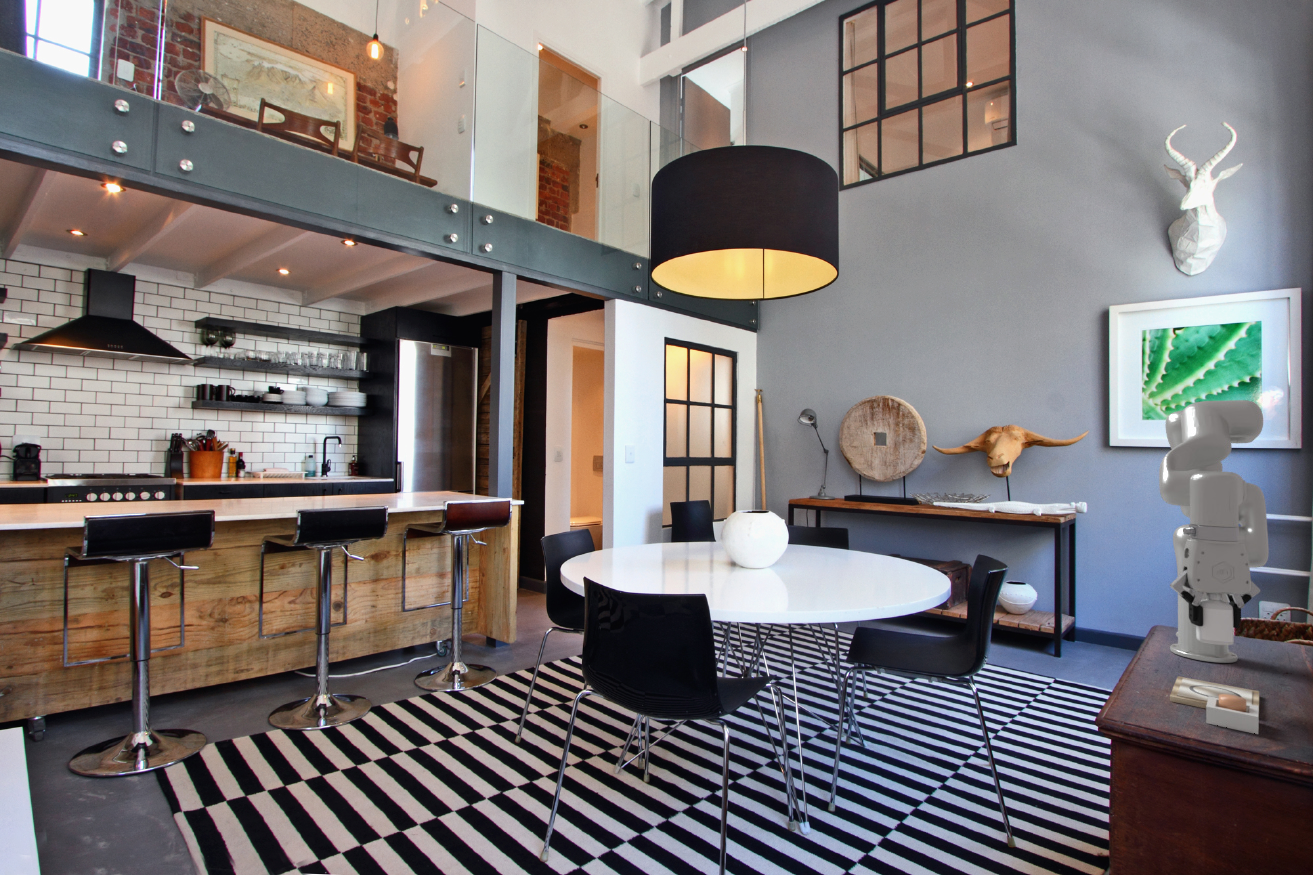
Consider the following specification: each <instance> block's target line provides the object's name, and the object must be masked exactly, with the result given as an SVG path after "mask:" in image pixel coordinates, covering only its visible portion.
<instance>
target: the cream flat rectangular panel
mask: <svg viewBox="0 0 1313 875" xmlns="http://www.w3.org/2000/svg"><path fill="white" fill-rule="evenodd" d="M1219 694H1229V695H1235V696H1239V697H1242V698H1244V699H1246V704H1251V705H1256V706H1259V707H1260V691H1259V690H1254V689H1249V688H1245V687H1244V688H1243V687H1239V686H1232V685H1227V684H1221V683H1216V682H1210V681H1206V680H1200V679H1195V678H1194V679H1193V678H1189V677H1183V676H1177V677H1176V680H1175V681H1174V685H1173V687H1172V690H1171V692H1170V695H1169V702H1172V703H1177V704H1181V705H1187V706H1193V707H1196V708H1201V709H1206V705H1207V701H1208V697H1209V696H1210V697H1215V698H1219Z"/></svg>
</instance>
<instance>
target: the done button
mask: <svg viewBox="0 0 1313 875" xmlns="http://www.w3.org/2000/svg"><path fill="white" fill-rule="evenodd" d="M1219 707H1221V708H1226V709H1231V710H1236V711H1241V712H1246V699H1244V698H1242V697H1239V696H1235V695H1229V694H1219Z"/></svg>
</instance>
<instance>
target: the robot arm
mask: <svg viewBox="0 0 1313 875" xmlns="http://www.w3.org/2000/svg"><path fill="white" fill-rule="evenodd" d="M1164 427H1165V434H1166V438H1167V442H1168V445H1169V446H1170V449H1171V450H1169V451H1168V452H1167V453H1166V454H1165V455H1164V457H1163V458H1162V460H1161V462H1160V464H1159V472H1158V482H1159V483H1158V486H1159V494H1160V497H1161V499H1162V500H1163V501H1164V502H1165V503H1167V504H1168V505H1172V506H1178V507H1179V506H1180V510H1181V513H1182V514H1183V516H1185V517H1186V518H1189V524H1183V525H1180V526H1178V527H1177V528H1175V530H1174V531H1173V535H1172V543H1173V549H1174V550H1173V551H1174V555H1175V560H1176V561H1175V562H1176V570H1177V571H1176V572H1177V577H1176V578H1175V579H1174V580H1173V581H1172V582H1171V583H1170V584H1169V587H1170V588H1171V590H1173V591H1174V592H1176V593H1177V632H1175V636H1176V637H1177V642H1176V643H1173V644H1171V645H1170V646H1169V647H1170V648H1169V649H1170V652H1172V653H1173V654H1175V655H1178V656H1180V657H1183V658H1184V657H1185V658H1187V659H1192V660H1197V661H1202V662H1209V663H1210V662H1211V663H1219V664H1220V663H1221V664H1226V663H1227V664H1229V663H1236V662H1237V661H1238V655H1237V654H1236V653H1235V652H1233V651H1230V650H1229V648H1230V647H1229V646H1230V645H1218V644H1210V643H1204V642H1201V641H1199V640H1198V639H1197V637H1196V625H1197V626H1203V607H1202V606H1200V602H1201V600H1206V599H1208V598H1206V593H1221V594H1222V601H1224V602H1226V603H1228V604H1230V605H1231V606H1232V607H1233V626H1234V629H1240V625H1241V623H1242V609H1244V608H1245V605H1246V604H1247V603H1249V602H1250V601H1251V600H1252V598H1254V597H1256V595H1259V593H1261V588H1259V587H1258V586H1257V585H1256V584H1255V583H1254V582H1253V581H1252V579H1251V577H1252V576H1251V569H1250V568H1261V567H1264V566H1265V565H1266V563H1267V562H1268V559H1269V552H1270V551H1269V533H1268V519H1267V518H1268V517H1267V505H1266V498H1265V496H1264V495H1265V494H1264V492H1263V491H1262V489H1261V488H1260V487H1259V486H1258V485H1257V484H1255V483H1250V482H1247V481H1245V479H1243V478H1242V476H1241V475H1240V474H1239V473H1237V472H1233V471H1223V463H1222V462H1223V461H1224V460H1225V459H1227V458H1228V457H1229V455H1230V454H1231V452H1232V449H1233V448H1232V444H1249V443H1252V442H1254V440H1256V439H1257V438H1258V437H1259V436H1260V435H1261V433H1262V431H1263V428H1264V415H1263V411H1262V409H1261V407H1260V406H1259V405H1258V404H1257V403H1255V402H1254V401H1251V400H1249V399H1248V400H1246V399H1245V400H1244V399H1241V400H1240V399H1237V400H1232V399H1231V400H1203V401H1196V402H1193V403H1191V404H1188V405H1187V406H1186V407H1185V408H1183V410H1178V411H1174V412H1172V413H1170V414H1168V416H1167V417H1166V418H1165V426H1164Z"/></svg>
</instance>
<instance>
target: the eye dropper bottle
mask: <svg viewBox="0 0 1313 875" xmlns="http://www.w3.org/2000/svg"><path fill="white" fill-rule="evenodd" d="M1206 598H1208V599H1206V600H1201V602H1200V606H1202V607H1203V626H1197V625H1196V637H1197V639H1198V640H1199V641H1201V642H1204V643H1210V644H1218V645H1229V646H1233V645H1234V643H1235V637H1234V635H1235V634H1234V631H1235V630H1234V629H1235V628H1234V626H1233V607H1232V606H1231V605H1230V604H1229V602H1228V603H1226V602H1224V601H1222V594H1221V593H1206Z"/></svg>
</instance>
